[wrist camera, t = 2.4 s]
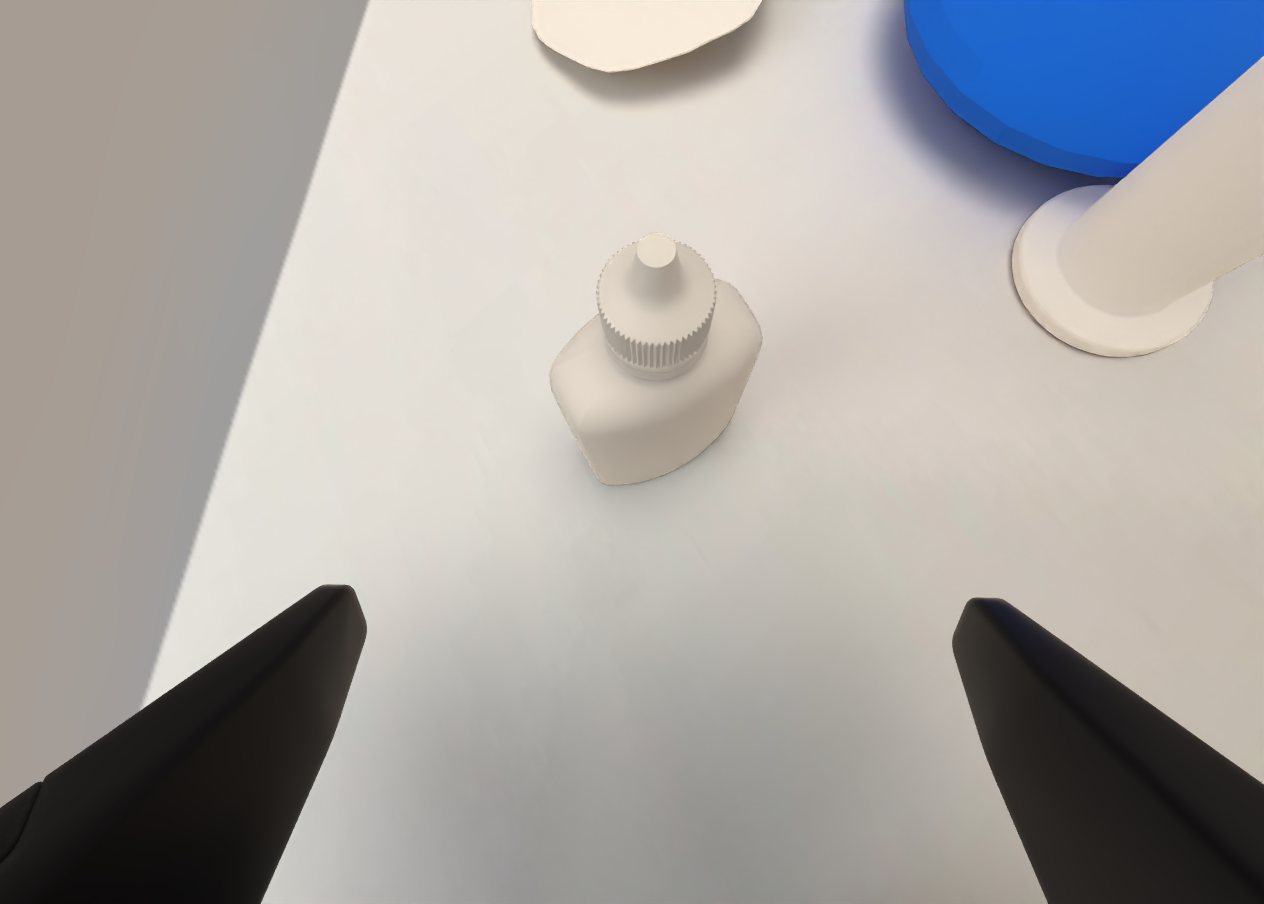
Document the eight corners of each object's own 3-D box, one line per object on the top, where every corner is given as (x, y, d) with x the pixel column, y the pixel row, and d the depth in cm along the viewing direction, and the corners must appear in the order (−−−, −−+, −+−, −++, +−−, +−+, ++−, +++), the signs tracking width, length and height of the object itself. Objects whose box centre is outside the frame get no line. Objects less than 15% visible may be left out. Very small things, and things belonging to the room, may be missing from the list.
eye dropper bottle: (583, 375, 22) (507, 145, 11) (729, 377, 22) (811, 143, 11) (578, 486, 21) (489, 364, 10) (730, 489, 21) (824, 367, 10)
